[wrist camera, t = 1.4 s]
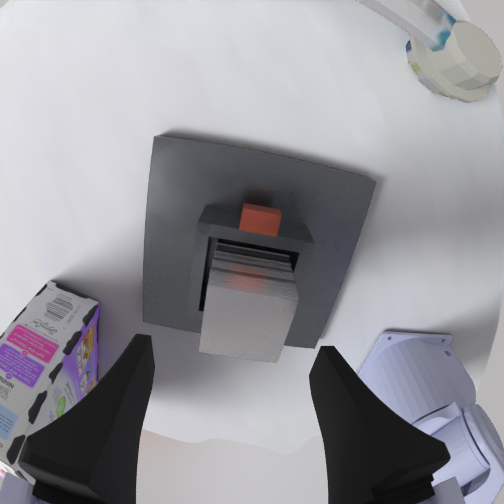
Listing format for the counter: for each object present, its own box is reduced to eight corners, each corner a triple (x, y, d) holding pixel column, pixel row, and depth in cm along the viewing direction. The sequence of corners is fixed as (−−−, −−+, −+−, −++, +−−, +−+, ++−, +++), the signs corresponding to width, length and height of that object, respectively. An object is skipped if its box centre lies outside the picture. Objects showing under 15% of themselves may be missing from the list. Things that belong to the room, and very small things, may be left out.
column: (284, 238, 19) (300, 300, 13) (270, 292, 21) (277, 363, 15) (220, 226, 19) (206, 284, 13) (211, 282, 20) (197, 352, 14)
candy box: (47, 276, 22) (-60, 414, 7) (103, 300, 23) (11, 469, 8) (56, 370, 27) (3, 481, 12) (100, 389, 28) (56, 511, 13)
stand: (370, 178, 18) (397, 194, 15) (312, 340, 24) (321, 376, 21) (158, 135, 17) (135, 141, 14) (146, 314, 23) (131, 347, 19)
